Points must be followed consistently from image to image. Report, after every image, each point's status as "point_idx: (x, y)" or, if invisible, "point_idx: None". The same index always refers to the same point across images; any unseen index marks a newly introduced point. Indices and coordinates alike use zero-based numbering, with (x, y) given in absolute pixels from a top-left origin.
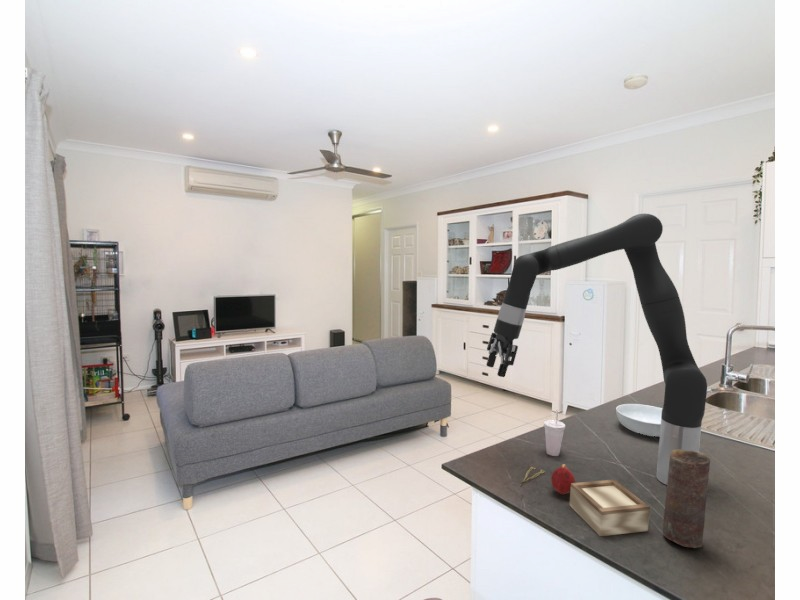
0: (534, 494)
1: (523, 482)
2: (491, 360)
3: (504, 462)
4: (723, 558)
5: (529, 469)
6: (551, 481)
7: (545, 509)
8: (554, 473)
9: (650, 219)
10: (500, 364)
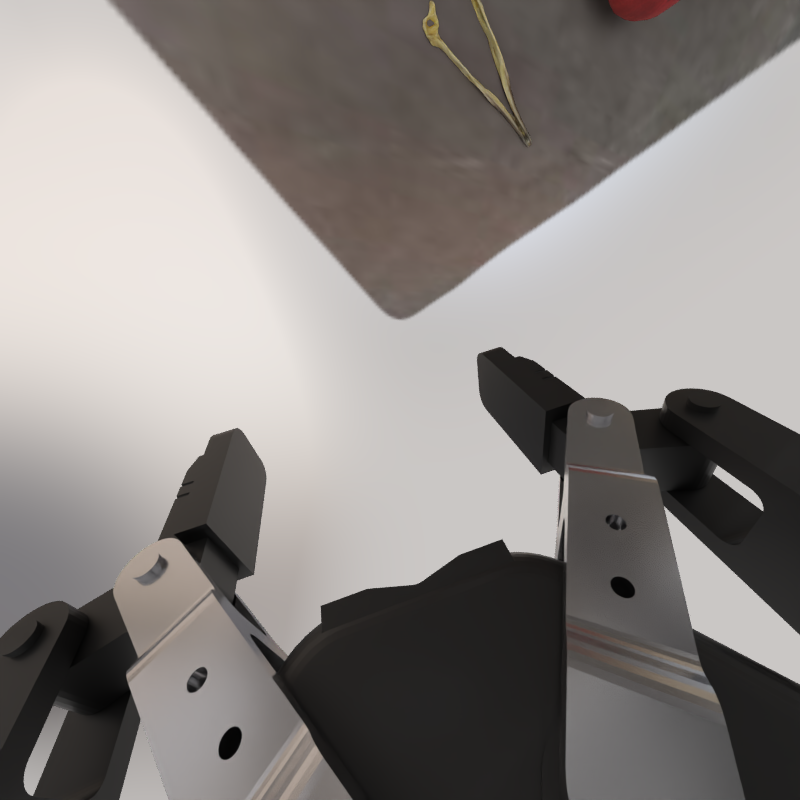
0: (579, 103)
1: (523, 125)
2: (244, 501)
3: (381, 154)
4: None
5: (456, 59)
6: (619, 15)
7: (650, 96)
8: (661, 3)
9: None
10: (542, 465)
